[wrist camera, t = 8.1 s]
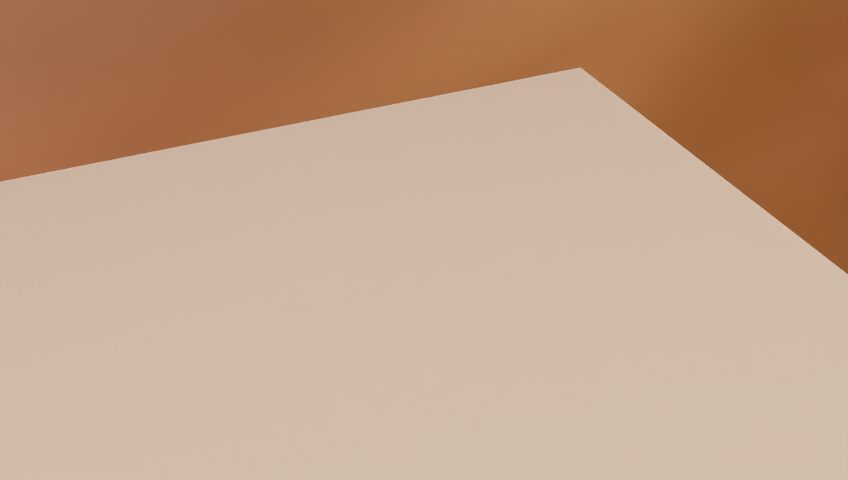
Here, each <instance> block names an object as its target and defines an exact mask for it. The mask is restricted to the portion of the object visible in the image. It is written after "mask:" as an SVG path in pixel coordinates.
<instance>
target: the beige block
mask: <svg viewBox="0 0 848 480" xmlns="http://www.w3.org/2000/svg"><path fill="white" fill-rule="evenodd" d="M0 480H848V274H847V273H845V272H844V271H843V270H841V269H840V268H839V267H837V266H836V265H835V264H834V263H832V262H831V261H830V260H828V259H827V258H826V257H825V256H823V255H822V254H821V253H819V252H818V251H817V250H816V249H814V248H813V247H812V246H810V245H809V244H808V243H806V242H805V241H804V240H803V239H801V238H800V237H799V236H797V235H796V234H795V233H794V232H792V231H791V230H790V229H788V228H787V227H786V226H784V225H783V224H782V223H781V222H779V221H778V220H777V219H775V218H774V217H773V216H772V215H770V214H769V213H768V212H766V211H765V210H764V209H763V208H761V207H760V206H759V205H757V204H756V203H755V202H753V201H752V200H751V199H750V198H748V197H747V196H746V195H744V194H743V193H742V192H741V191H739V190H738V189H737V188H735V187H734V186H733V185H732V184H730V183H729V182H728V181H726V180H725V179H724V178H722V177H721V176H720V175H719V174H717V173H716V172H715V171H713V170H712V169H711V168H710V167H708V166H707V165H706V164H704V163H703V162H702V161H700V160H699V159H698V158H697V157H695V156H694V155H693V154H691V153H690V152H689V151H688V150H686V149H685V148H684V147H682V146H681V145H680V144H679V143H677V142H676V141H675V140H673V139H672V138H671V137H669V136H668V135H667V134H666V133H664V132H663V131H662V130H660V129H659V128H658V127H657V126H655V125H654V124H653V123H651V122H650V121H649V120H648V119H646V118H645V117H644V116H642V115H641V114H640V113H638V112H637V111H636V110H635V109H633V108H632V107H631V106H629V105H628V104H627V103H626V102H624V101H623V100H622V99H620V98H619V97H618V96H617V95H615V94H614V93H613V92H611V91H610V90H609V89H607V88H606V87H605V86H604V85H602V84H601V83H600V82H598V81H597V80H596V79H595V78H593V77H592V76H591V75H589V74H588V73H587V72H585V71H584V70H583V69H582V68H576V69H571V70H566V71H561V72H555V73H550V74H545V75H540V76H535V77H530V78H525V79H520V80H515V81H510V82H505V83H500V84H495V85H489V86H484V87H479V88H474V89H469V90H464V91H459V92H454V93H449V94H444V95H439V96H434V97H428V98H423V99H418V100H413V101H408V102H403V103H398V104H393V105H388V106H383V107H378V108H373V109H368V110H362V111H357V112H352V113H347V114H342V115H337V116H332V117H327V118H322V119H317V120H312V121H307V122H302V123H296V124H291V125H286V126H281V127H276V128H271V129H266V130H261V131H256V132H251V133H246V134H241V135H236V136H230V137H225V138H220V139H215V140H210V141H205V142H200V143H195V144H190V145H185V146H180V147H175V148H170V149H164V150H159V151H154V152H149V153H144V154H139V155H134V156H129V157H124V158H119V159H114V160H109V161H103V162H98V163H93V164H88V165H83V166H78V167H73V168H68V169H63V170H58V171H53V172H48V173H43V174H37V175H32V176H27V177H22V178H17V179H12V180H7V181H2V182H0Z"/></svg>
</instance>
